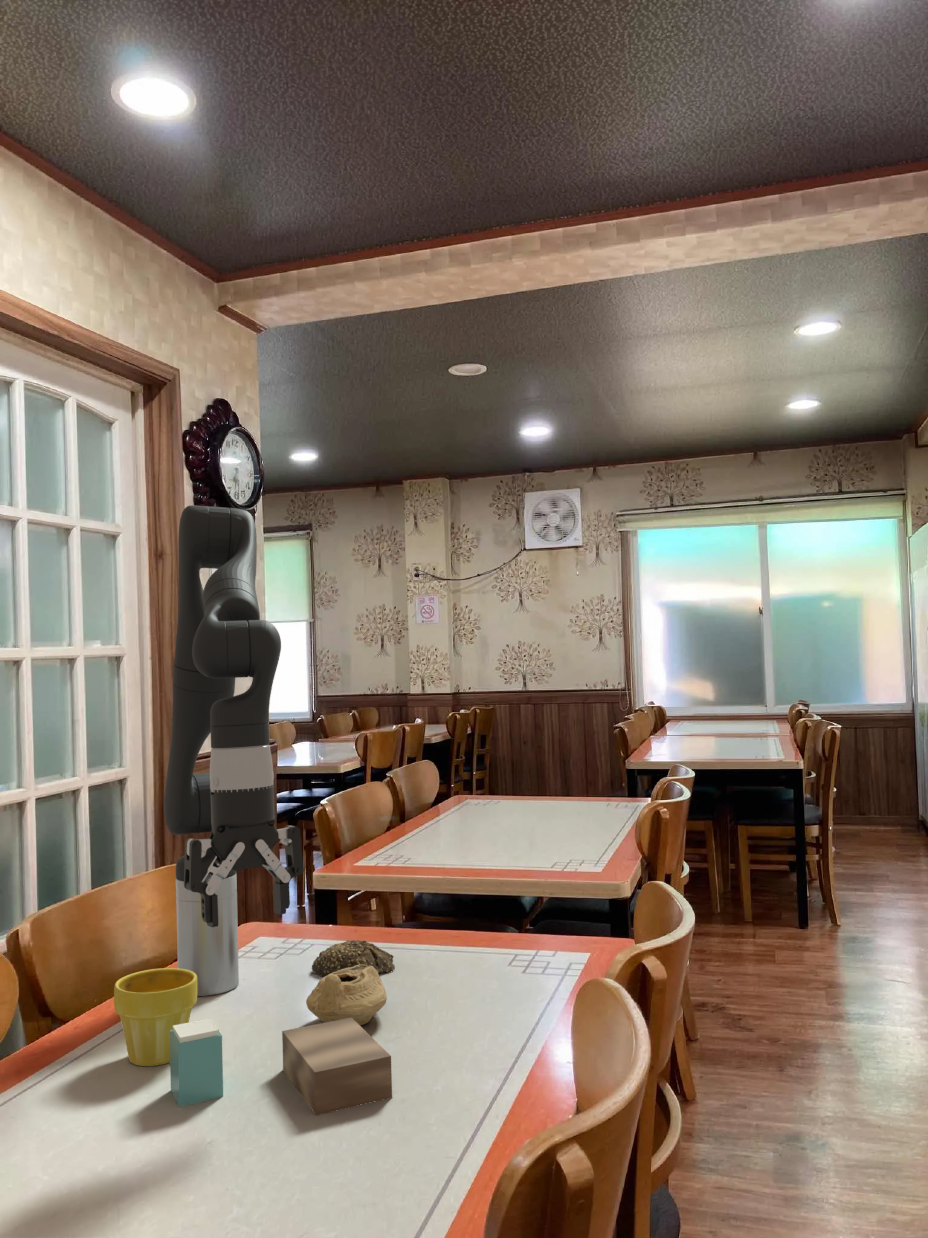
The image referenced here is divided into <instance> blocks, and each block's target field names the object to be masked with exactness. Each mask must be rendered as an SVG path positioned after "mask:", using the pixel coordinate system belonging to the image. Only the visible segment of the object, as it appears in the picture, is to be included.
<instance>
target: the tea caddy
mask: <svg viewBox="0 0 928 1238" xmlns="http://www.w3.org/2000/svg"><path fill="white" fill-rule="evenodd" d="M223 1062H224V1061H223V1035H222V1033H221V1032H220V1031H219V1028H218V1027H217V1026H216V1024H215V1023H214V1022H213V1020H212V1019H211V1018H204V1019H201V1020H195V1021H189V1023H184V1024H179V1025H173V1030H170V1062H169V1063H170V1064H169V1066H170V1067H169V1068H170V1069H169V1070H170V1092H171V1094H172V1096H173V1097H174V1099H175V1102H176V1103H177V1106H178V1107H180V1108H182V1107H185V1106H189V1105H194V1104H197V1103H202V1102H206V1101H210V1100H213V1099H214V1100H215V1099H219V1098H223V1097H224V1072H223V1071H224V1068H223V1067H224V1066H223V1065H224V1064H223Z"/></svg>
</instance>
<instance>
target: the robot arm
mask: <svg viewBox="0 0 928 1238" xmlns="http://www.w3.org/2000/svg"><path fill="white" fill-rule="evenodd" d="M180 515H181V516H180V518H179V524H178V540H177V541H178V544H177V545H178V549H177V552H178V553H177V554H178V555H177V557H178V558H177V559H178V566H177V567H178V571H177V572H178V604H177V605H178V608H177V609H178V611H177V612H178V613H177V624H176V625H177V626H176V636H175V638H176V640H175V648H174V659H173V661H174V662H173V675H172V676H173V677H172V713H171V715H172V719H171V720H172V721H171V738H170V746H169V755H168V761H167V763H168V764H167V771H166V777H165V787H164V797H163V815H164V823H165V825H166V828H167V830H168V831H169V833H170V834H173V835H178V836H183V835H185V836H186V835H193V834H194V835H195V834H203V833H210V835H209V837H208V838H198V839H197V838H194V837H193V838H191V837H188V838H186V840H185V842H184V855H183V856H181V857H180V858H179V859H177V861H176V863H175V890H176V891H175V895H176V896H175V897H176V898H175V900H176V942H177V944H176V945H177V950H176V951H177V953H176V954H177V968H179V969H186V970H190V971H192V972H194V973H195V974H196V975H197V997H201V996H202V997H203V996H213V995H218V994H223V993H226V992H228V991H231V990H233V989H235V988H237V987H238V986H239V984H240V978H239V977H240V976H239V972H240V971H239V928H238V927H239V926H238V924H239V922H238V891H237V889H238V888H237V885H238V884H237V880H238V879H237V872H238V871H244V870H246V869H248V868H249V869H258V868H261V866H262V867H263V868H264V869H266V870H267V872H268V873H269V874H270V875H271V876H272V877H273V879H274V880H275V881H273V882H272V889H273V890H272V891H273V893H272V894H273V895H272V897H273V899H272V900H273V911H274V913H275V915H279V916H281V915H285V914H286V913H287V909H289V908H290V904H291V901H290V900H291V899H290V897H291V896H290V882H291V880H292V879H293V878H295V877H297V876H301V875H302V874H303V873H304V870H305V869H304V859H303V850H302V849H303V848H302V839H301V829H300V828H299V827H298V826H295V825H289V824H286V825H285V826H284V827H283V828H278V829H277V827H276V825H275V819H276V815H275V791H274V789H275V787H274V785H275V784H274V779H275V774H274V765H273V757H272V751H271V741H270V723H269V722H270V704H271V703H270V702H271V694H272V690H273V685H274V680H275V676H276V672H277V668H278V665H279V661H280V657H281V656H280V655H281V652H282V651H281V650H282V639H281V635H280V633H279V631H278V629H277V628H276V626H275V625H273V623H272V622H270V621H268V620H266V619H265V620H264V619H261V614H260V613H261V612H260V607H259V601H258V597H257V590H256V576H257V560H258V559H257V553H258V552H257V550H258V549H257V548H258V547H257V545H258V543H257V527H256V522H255V518H254V517H253V516H252V514H251V513H250V512H249V511H247V510H246V509H243V508H242V509H241V508H234V507H221V506H208V505H196V504H195V505H194V504H192V505H188V506H186V507H185V508H184V509H183V510H182V512H181V514H180ZM201 569H214V570H215V569H216V570H215V571H214V572H213V573H212V574H211V575H210V576H209V578H208V579H207V581H206V582H205V585H204V588H203V584H202V581H201V576H200V575H201V574H200V573H201V571H200V570H201ZM249 677H250V678H252V680H251V681H252V682H251V684H250V687H249V688H248V689H247V690H246V691H244V692H242V693H240V694H236V695H235V689H236V678H237V679H238V678H240V679H241V678H249ZM209 736H210V747H211V749H210V761H209V772H202V773H200V772H199V773H194V769H195V766H196V761H197V759H198V757H199V753H200V751H201V749H202V747H203V745H204V743H205V741H206V740H207V738H208V737H209ZM279 840H280V843H281V845H284V852H285V855H284V856H285V864H286V866H285V867H284V865H282V862H281V861H280V859H279V858H278V856H276V854H275V853H274V852H273V849H274V848H275V846H276V844H277V842H278V841H279Z"/></svg>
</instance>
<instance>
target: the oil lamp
mask: <svg viewBox="0 0 928 1238" xmlns="http://www.w3.org/2000/svg"><path fill="white" fill-rule="evenodd" d="M379 974H380V973H378V972H377V971H376V969H375V968H374V967H373V966H367V965H355V966H353V967H349V968H345V969H341V970H339V971H336V972H333V973H331V974H329V975H327V976H325V977H322V978H321V979H320V980H318V982H317V984H316V986H315V987H314V988H313V989H312V990H311V992H310V994H309V995H308V996H307V998H306V1000H305V1003H306V1007H307V1009H308V1011H310V1012H311V1013H312V1014H313V1015H314V1016H316V1018H318V1019H319V1020H320V1021H322V1023H326V1022H331V1021H337V1020H342V1019H347V1018H353V1019H354V1020H355V1021H356V1022H357V1023H358V1024H359V1025H360V1026H363V1025H366V1024H367V1023H369V1022H370V1021H371V1020H372V1018H373V1017H374V1016H375V1015H376V1014H378V1012H379V1011H380V1010H381V1009H382V1008H383V1007H384V1006H385V1005H386V1004H387V1000H388V999H387V998H388V997H387V995H388V994H387V990H386V989H385V987H384V984H383V982H382V979H381V977H380V975H379Z"/></svg>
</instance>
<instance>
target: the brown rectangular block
mask: <svg viewBox="0 0 928 1238" xmlns="http://www.w3.org/2000/svg"><path fill="white" fill-rule="evenodd" d="M281 1035H282V1039H281V1040H282V1070H283V1072H284V1073H285V1074H286V1076H287V1077H288V1079H289V1081H290V1082H291V1083H292V1084H293V1086H294V1087H295V1089H296V1090H297V1091H298V1092H299V1094H300V1095H301V1098H303V1099H305V1103H306V1104H307V1105H308V1106H310V1107H311V1108H310V1107H309V1108H310V1109H311V1111H312V1110H313V1111H312V1112H313V1113H314V1115H315V1116H320V1114H321V1115H324V1114H328V1113H333V1112H337V1111H336V1110H338V1111H342V1110H345V1108H346V1109H349V1108H348V1107H350V1108H354V1106H355V1107H358V1106H357V1105H359V1106H361V1105H360V1104H363V1105H366V1104H365V1103H367V1104H370V1103H369V1102H372V1103H375V1102H374V1101H376V1102H380V1101H383V1100H382V1099H384V1100H388V1099H387V1098H389V1099H391V1098H392V1099H393V1079H392V1075H393V1074H392V1056H391V1055H390V1053H389V1052H387V1050H386V1049H384V1048H383V1047H382V1046H381V1044H380V1043H378V1042H377V1040H375V1039H374V1038H373V1037H372V1036H371V1035H370V1034H369V1033H368V1032H367V1031H366V1030H365V1029H364V1028H363V1027H362V1025H359V1024H358V1023H357V1022H356V1021H355V1020H354V1019H353V1018H347V1019H342V1020H337V1021H331V1022H326V1023H324V1022H321V1023H317V1024H312V1025H311V1024H310V1025H307V1026H302V1027H297V1028H296V1027H295V1028H291V1029H285V1030H282V1032H281ZM341 1109H342V1110H341Z"/></svg>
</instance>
